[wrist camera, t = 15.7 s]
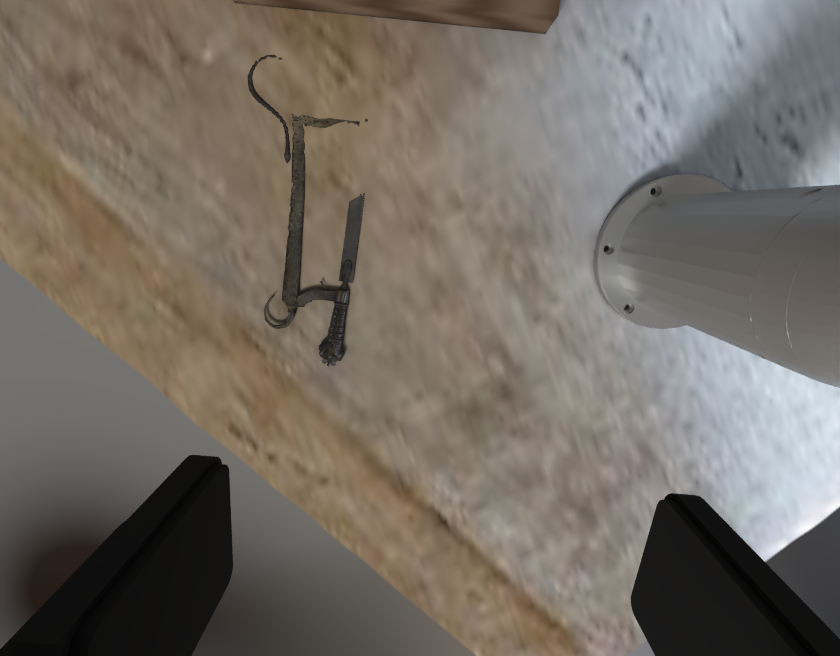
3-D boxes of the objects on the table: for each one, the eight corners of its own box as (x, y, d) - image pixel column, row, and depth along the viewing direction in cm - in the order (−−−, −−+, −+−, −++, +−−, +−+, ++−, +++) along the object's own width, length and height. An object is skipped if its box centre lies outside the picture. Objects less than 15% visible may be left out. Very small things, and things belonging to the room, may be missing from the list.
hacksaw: (343, 364, 39) (340, 370, 37) (232, 345, 38) (225, 351, 37) (384, 77, 32) (382, 71, 31) (251, 50, 32) (243, 43, 30)
